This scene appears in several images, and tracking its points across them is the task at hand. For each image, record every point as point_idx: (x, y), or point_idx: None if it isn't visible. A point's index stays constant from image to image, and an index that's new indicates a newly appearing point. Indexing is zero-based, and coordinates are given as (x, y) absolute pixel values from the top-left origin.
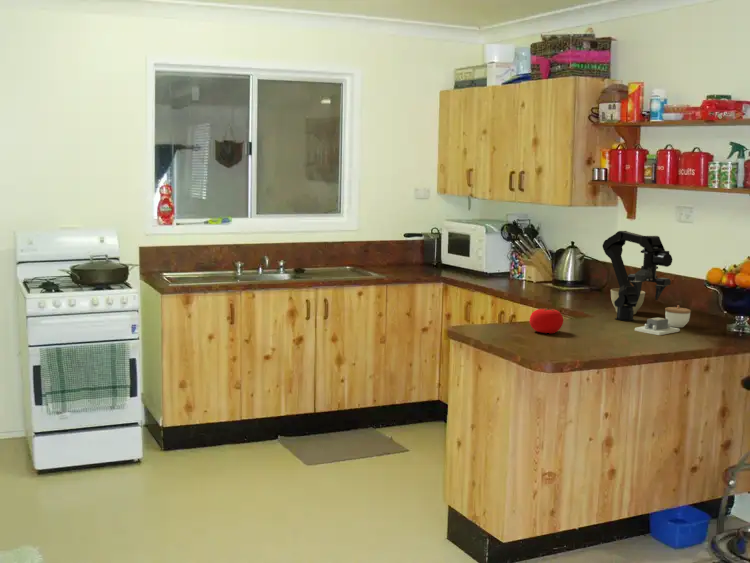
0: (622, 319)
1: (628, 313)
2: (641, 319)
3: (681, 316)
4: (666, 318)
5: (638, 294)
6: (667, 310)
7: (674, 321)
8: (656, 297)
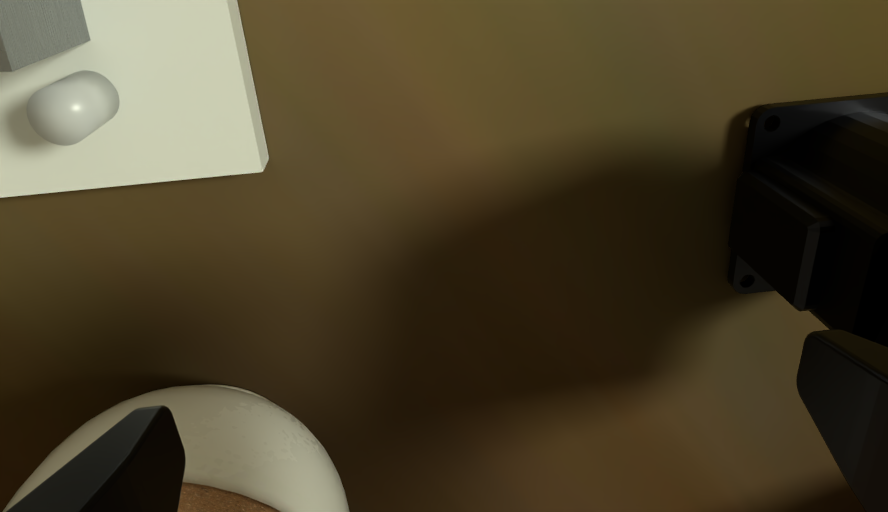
0: (831, 114)
1: (814, 195)
2: (700, 406)
3: (3, 510)
4: (263, 418)
5: (864, 393)
6: (200, 497)
7: (117, 406)
8: (81, 462)
